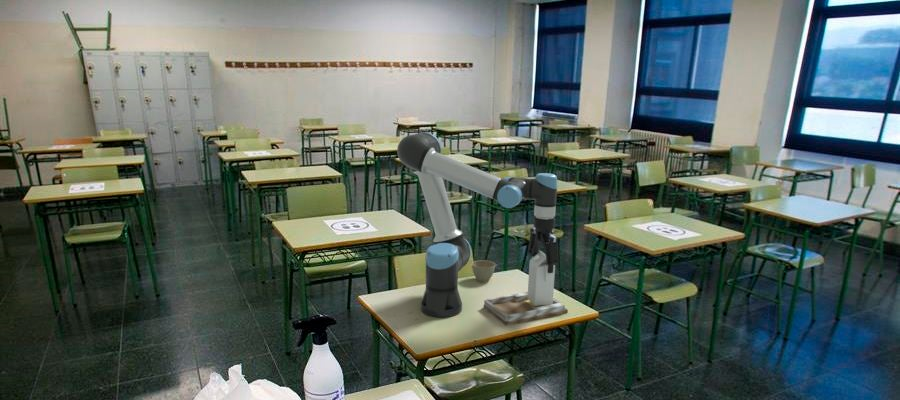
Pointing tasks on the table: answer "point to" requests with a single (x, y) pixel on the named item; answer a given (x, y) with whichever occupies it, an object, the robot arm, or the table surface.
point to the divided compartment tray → (520, 308)
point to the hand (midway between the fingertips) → (541, 276)
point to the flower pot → (483, 270)
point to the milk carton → (540, 281)
